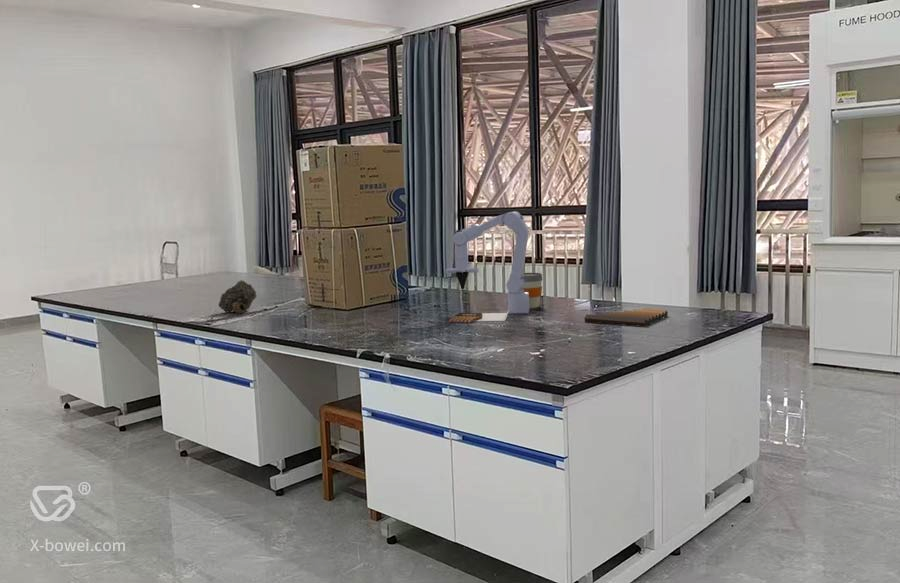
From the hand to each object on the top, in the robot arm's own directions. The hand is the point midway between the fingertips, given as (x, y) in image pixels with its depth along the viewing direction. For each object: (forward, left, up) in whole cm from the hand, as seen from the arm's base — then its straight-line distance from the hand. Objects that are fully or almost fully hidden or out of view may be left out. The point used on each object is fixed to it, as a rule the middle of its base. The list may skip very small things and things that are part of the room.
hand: (462, 288), depth 332 cm
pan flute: (-70, +24, -11) cm, 75 cm away
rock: (+112, -10, -11) cm, 113 cm away
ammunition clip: (-6, +17, -9) cm, 20 cm away
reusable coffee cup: (-29, -11, -11) cm, 33 cm away
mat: (-14, +16, -10) cm, 24 cm away
